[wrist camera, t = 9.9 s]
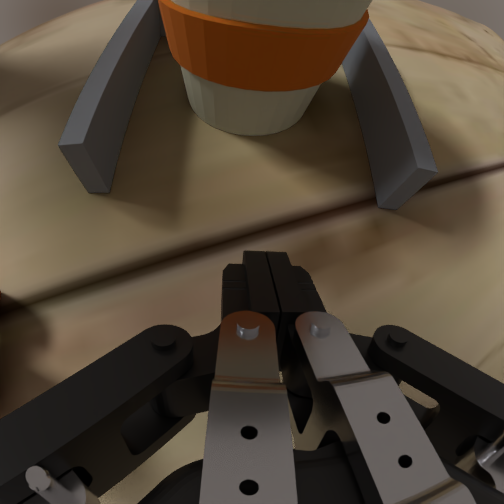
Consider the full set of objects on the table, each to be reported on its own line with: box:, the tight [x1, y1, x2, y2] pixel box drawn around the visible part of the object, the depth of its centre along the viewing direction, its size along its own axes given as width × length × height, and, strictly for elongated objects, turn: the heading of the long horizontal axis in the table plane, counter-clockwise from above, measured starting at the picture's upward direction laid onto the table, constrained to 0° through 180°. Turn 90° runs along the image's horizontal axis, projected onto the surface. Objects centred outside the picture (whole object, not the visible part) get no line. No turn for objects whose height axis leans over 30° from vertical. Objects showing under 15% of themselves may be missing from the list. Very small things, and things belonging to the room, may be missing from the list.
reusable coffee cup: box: [158, 0, 372, 136], centre depth 14 cm, size 13×13×15 cm
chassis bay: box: [58, 0, 438, 210], centre depth 18 cm, size 19×20×6 cm
